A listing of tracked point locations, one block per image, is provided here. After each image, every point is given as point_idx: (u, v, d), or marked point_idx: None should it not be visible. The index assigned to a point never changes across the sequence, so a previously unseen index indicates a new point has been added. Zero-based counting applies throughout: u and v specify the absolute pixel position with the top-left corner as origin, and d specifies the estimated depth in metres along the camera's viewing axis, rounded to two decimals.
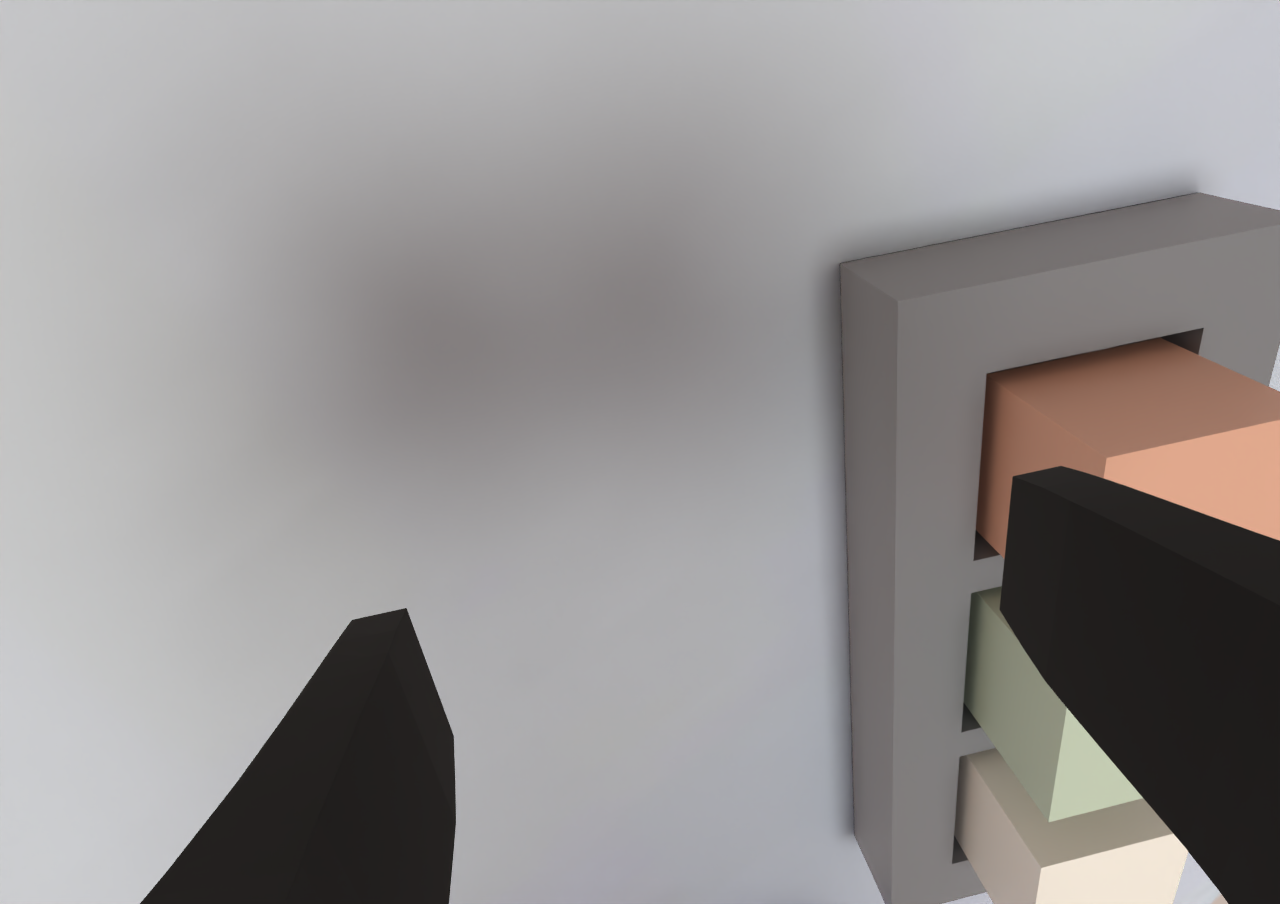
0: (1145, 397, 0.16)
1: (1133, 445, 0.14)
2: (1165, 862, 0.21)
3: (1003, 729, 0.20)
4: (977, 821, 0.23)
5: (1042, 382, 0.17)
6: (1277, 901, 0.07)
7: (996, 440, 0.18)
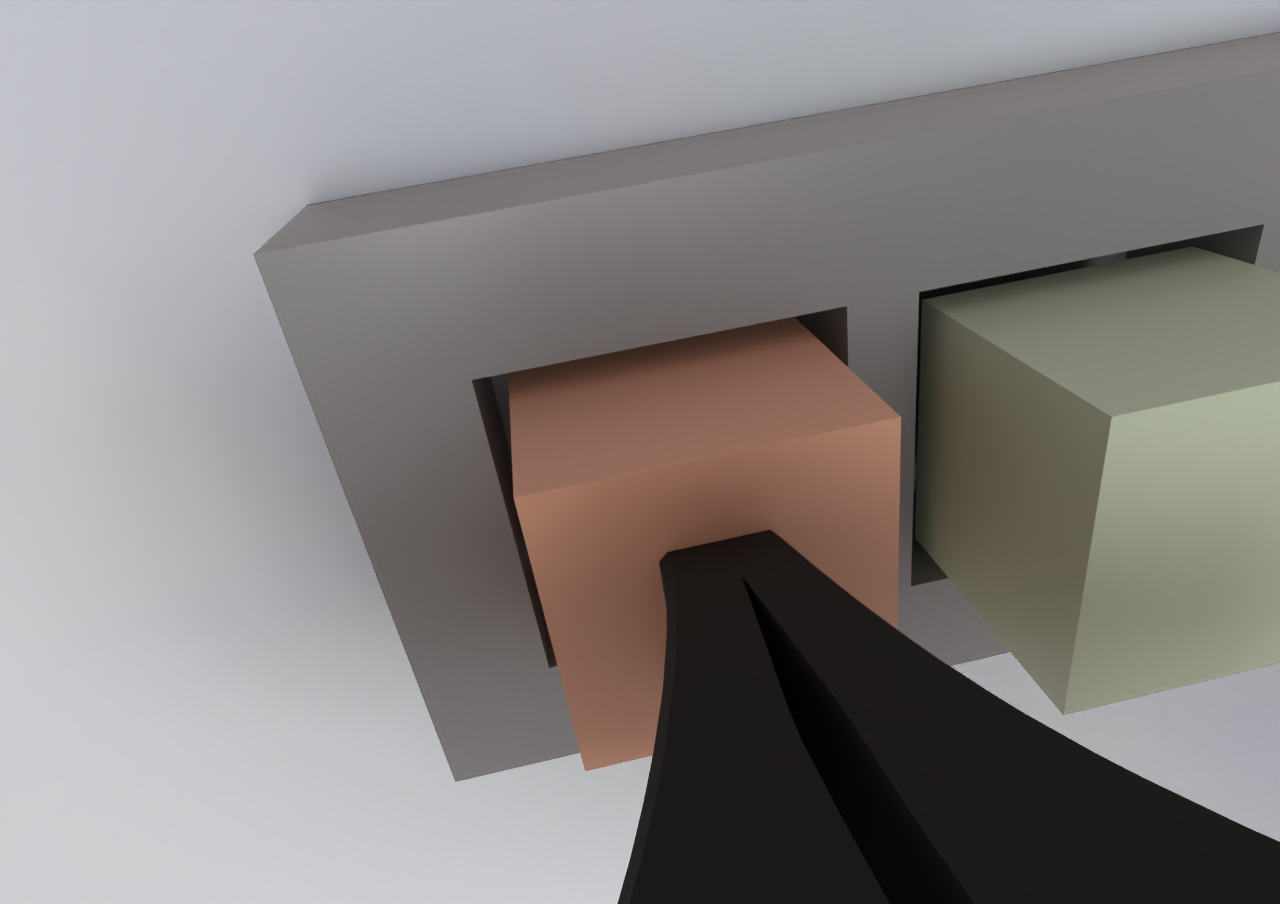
0: None
1: (574, 724, 0.10)
2: None
3: None
4: None
5: None
6: None
7: None
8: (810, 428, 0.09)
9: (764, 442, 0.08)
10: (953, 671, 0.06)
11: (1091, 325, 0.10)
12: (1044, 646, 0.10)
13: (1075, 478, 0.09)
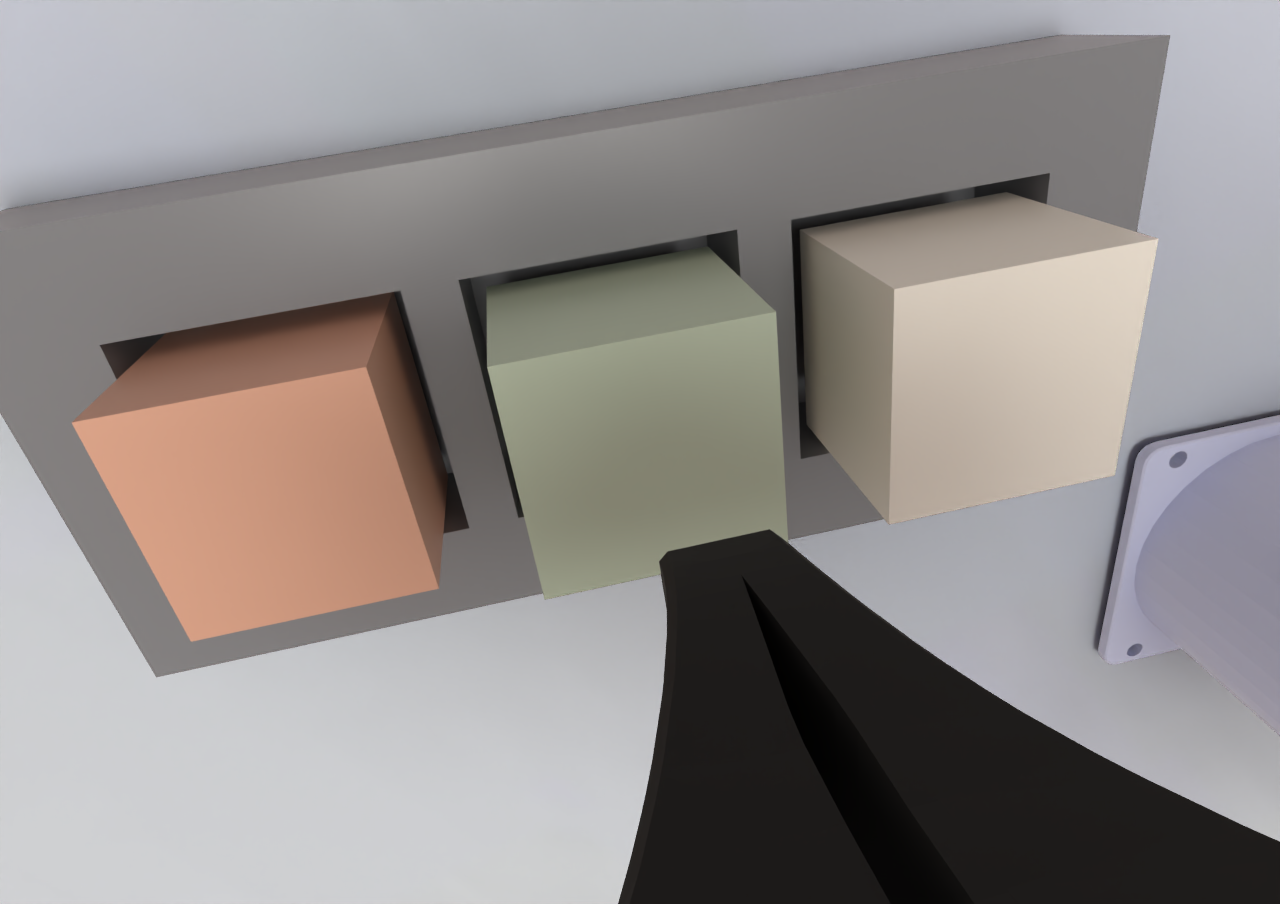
0: None
1: (178, 605, 0.13)
2: (968, 313, 0.12)
3: None
4: None
5: None
6: None
7: None
8: (302, 375, 0.12)
9: (265, 384, 0.12)
10: (954, 671, 0.06)
11: (563, 305, 0.13)
12: None
13: None
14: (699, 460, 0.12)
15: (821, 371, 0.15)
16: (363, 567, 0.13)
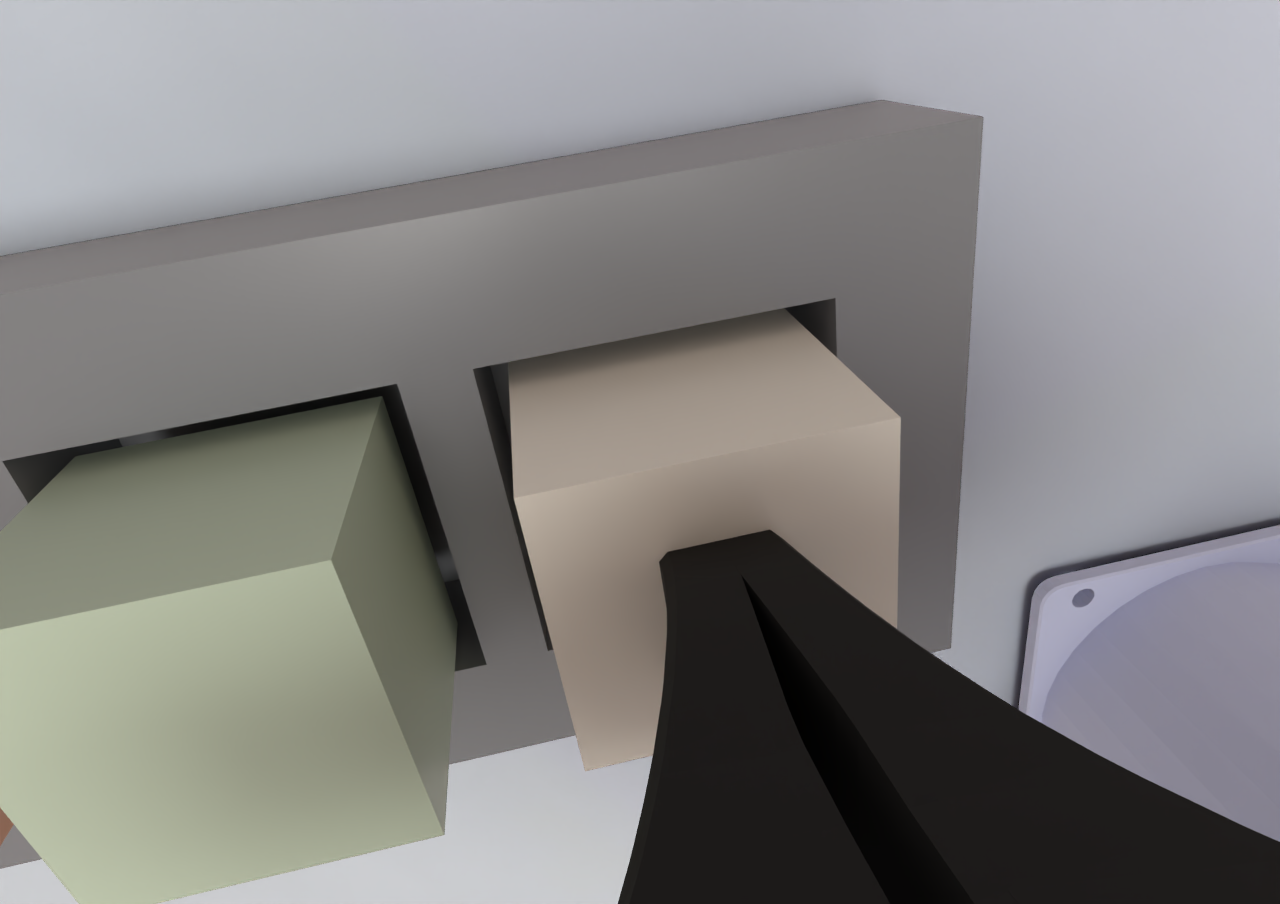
0: None
1: None
2: (635, 521, 0.09)
3: None
4: None
5: None
6: None
7: None
8: None
9: None
10: (954, 671, 0.06)
11: (111, 510, 0.09)
12: None
13: None
14: (271, 747, 0.09)
15: None
16: None
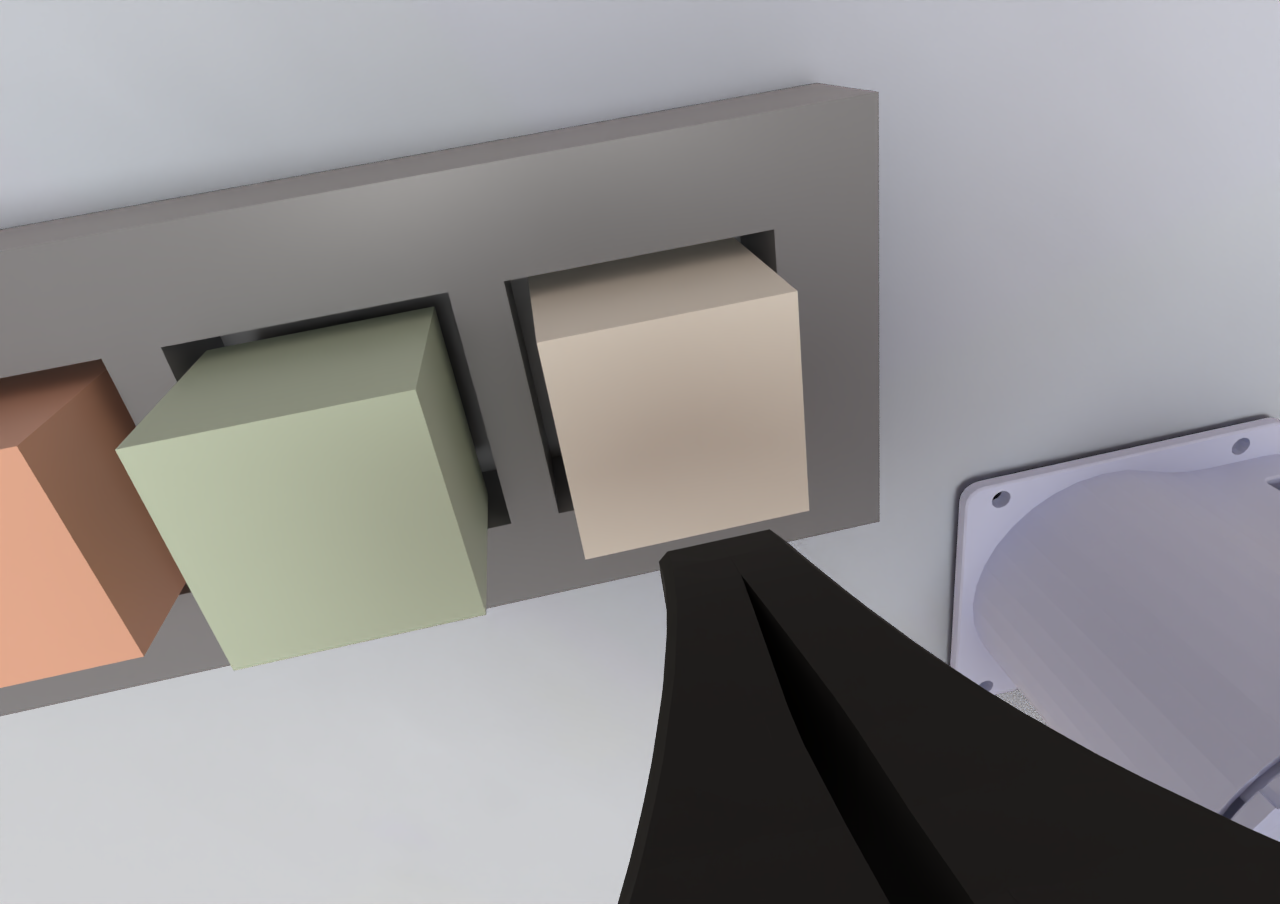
0: None
1: None
2: (618, 363, 0.13)
3: None
4: None
5: None
6: None
7: None
8: None
9: None
10: (953, 671, 0.06)
11: (247, 375, 0.13)
12: None
13: None
14: (367, 534, 0.12)
15: None
16: (57, 637, 0.13)
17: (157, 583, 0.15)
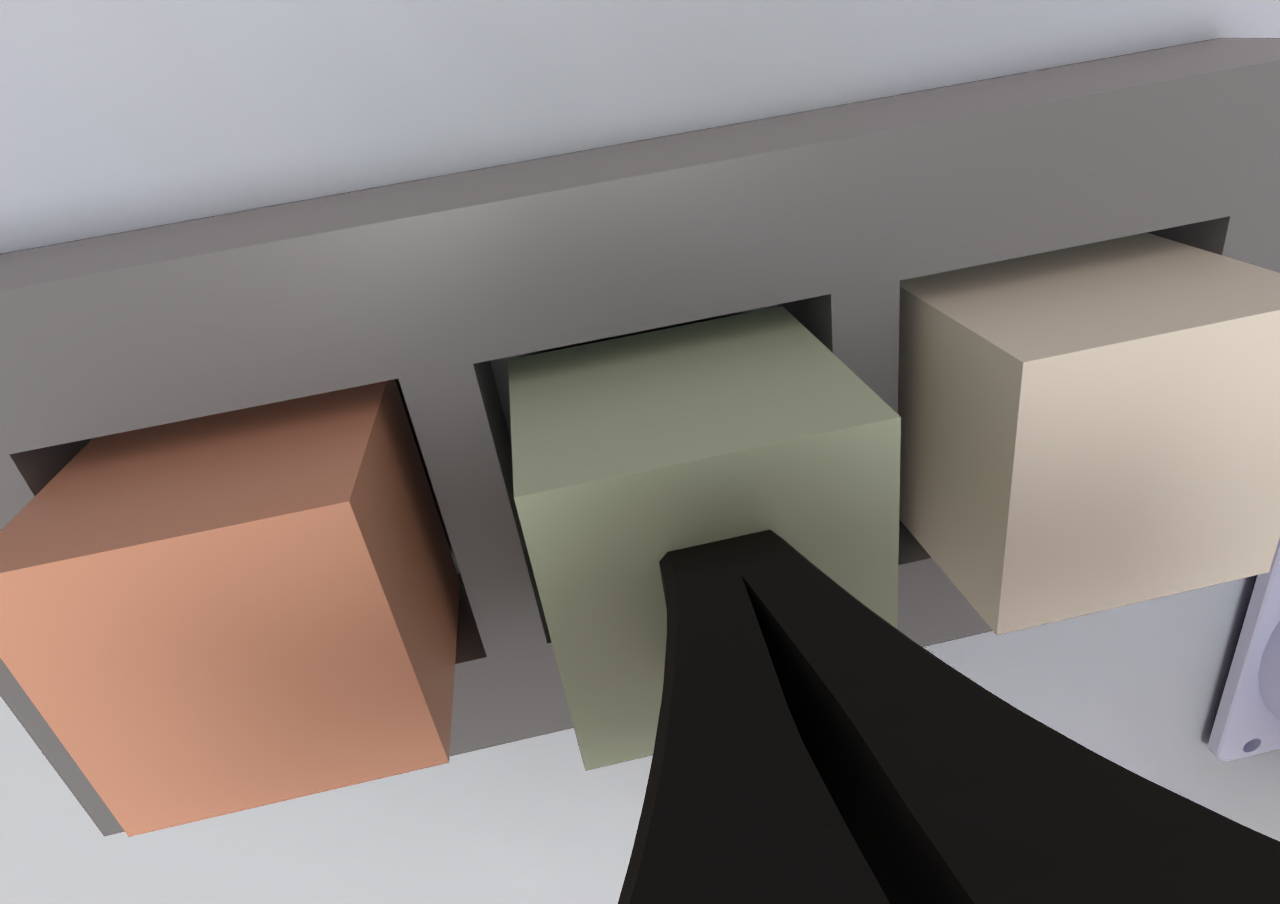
0: None
1: (112, 791, 0.10)
2: (1112, 389, 0.10)
3: None
4: None
5: None
6: None
7: None
8: (263, 512, 0.09)
9: (212, 526, 0.09)
10: (953, 671, 0.06)
11: (608, 394, 0.10)
12: None
13: None
14: None
15: (902, 438, 0.13)
16: (349, 742, 0.10)
17: (442, 661, 0.12)
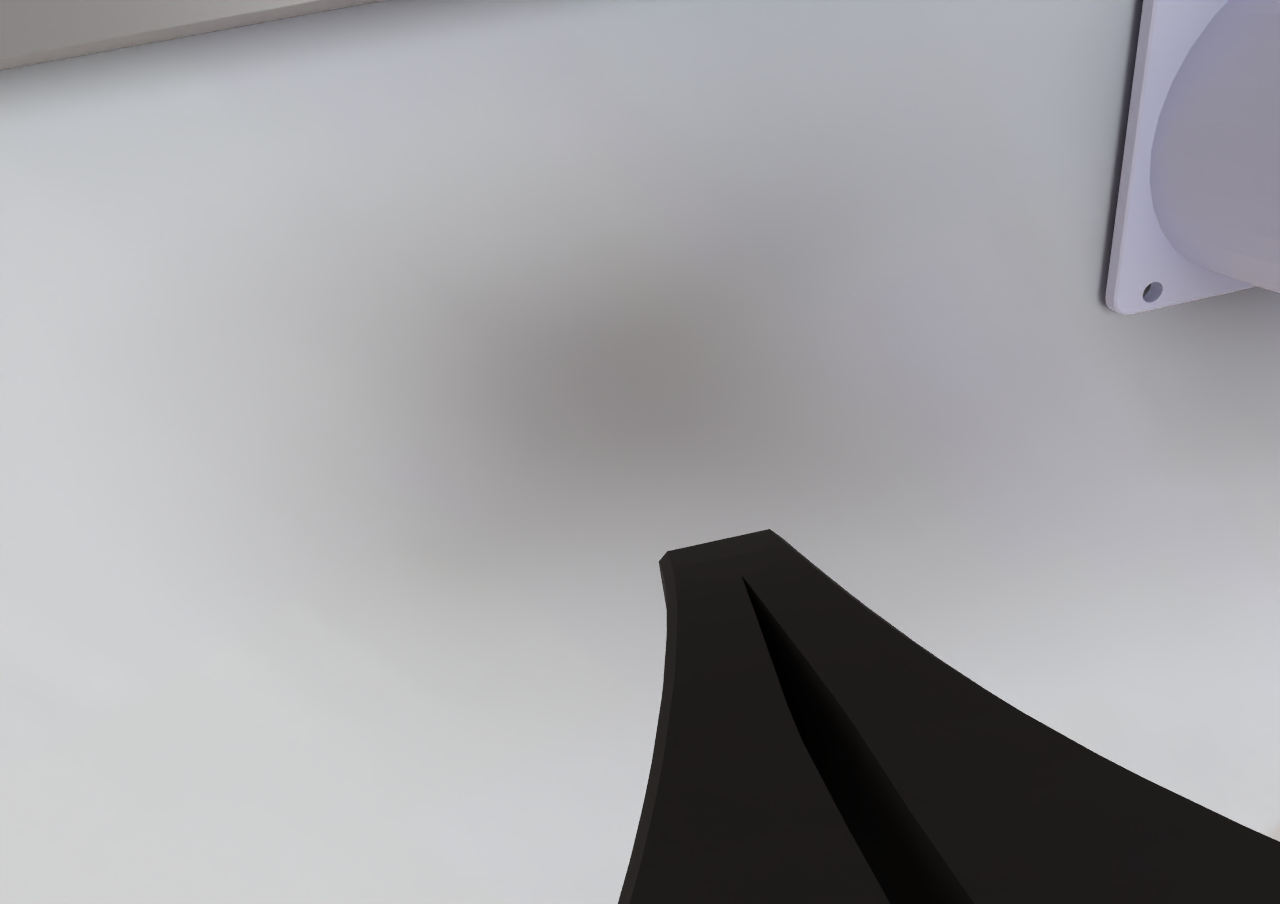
0: None
1: None
2: None
3: None
4: None
5: None
6: None
7: None
8: None
9: None
10: (954, 671, 0.06)
11: None
12: None
13: None
14: None
15: None
16: None
17: None
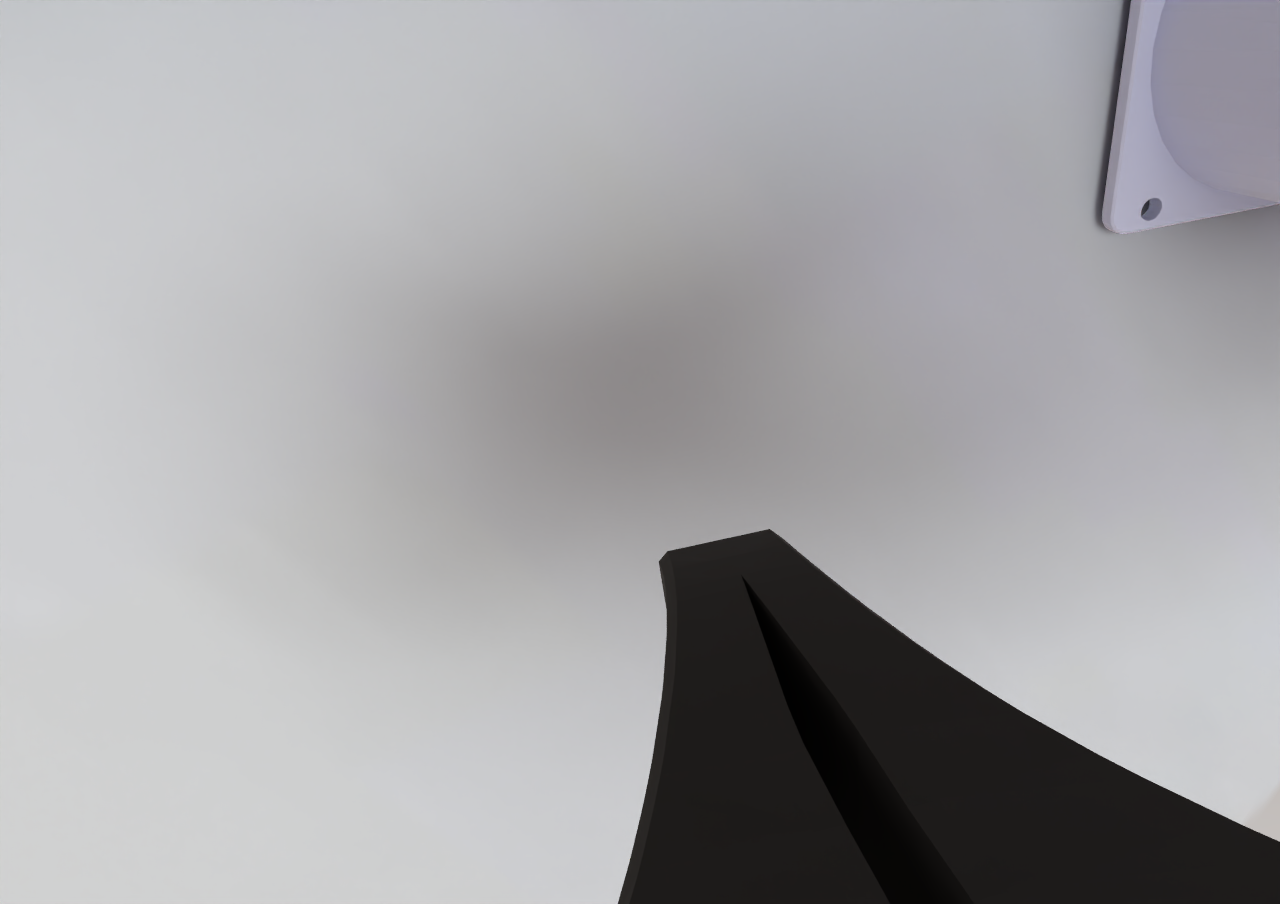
0: None
1: None
2: None
3: None
4: None
5: None
6: None
7: None
8: None
9: None
10: (953, 671, 0.06)
11: None
12: None
13: None
14: None
15: None
16: None
17: None
